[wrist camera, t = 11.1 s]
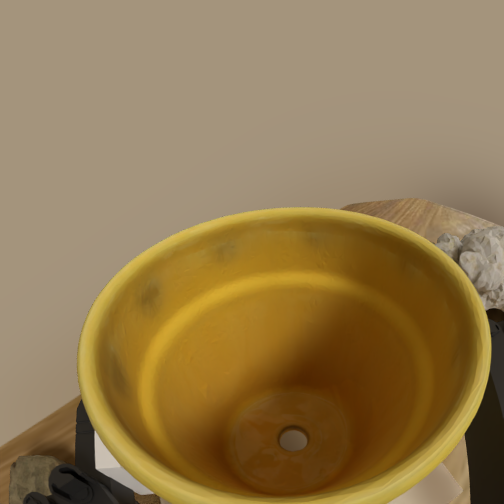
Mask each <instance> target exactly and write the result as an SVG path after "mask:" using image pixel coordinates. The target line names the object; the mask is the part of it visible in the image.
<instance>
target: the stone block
mask: <svg viewBox="0 0 504 504" xmlns="http://www.w3.org/2000/svg"><path fill="white" fill-rule="evenodd" d="M63 463H64V464H67V463H66V462H64V461H61V460H59V459H57V458H55V457H53V456H41V455H35V456H19V457H18V459H17V461H16V462H14V463H13V464H12V465H11V470H10V485H9V504H23V500H24V498H25V496H26V495H27V494H28V493H30V492H39V493H41V494H43V495H45V496H49V495H52V494H51V492H50V489H49V486H48V482H49V476H50V474H51V471H52V470H53V469H54V468H55V467H56V466H58V465H60V464H63Z"/></svg>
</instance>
